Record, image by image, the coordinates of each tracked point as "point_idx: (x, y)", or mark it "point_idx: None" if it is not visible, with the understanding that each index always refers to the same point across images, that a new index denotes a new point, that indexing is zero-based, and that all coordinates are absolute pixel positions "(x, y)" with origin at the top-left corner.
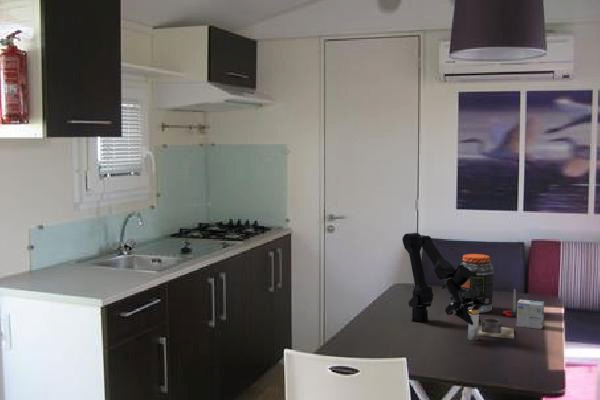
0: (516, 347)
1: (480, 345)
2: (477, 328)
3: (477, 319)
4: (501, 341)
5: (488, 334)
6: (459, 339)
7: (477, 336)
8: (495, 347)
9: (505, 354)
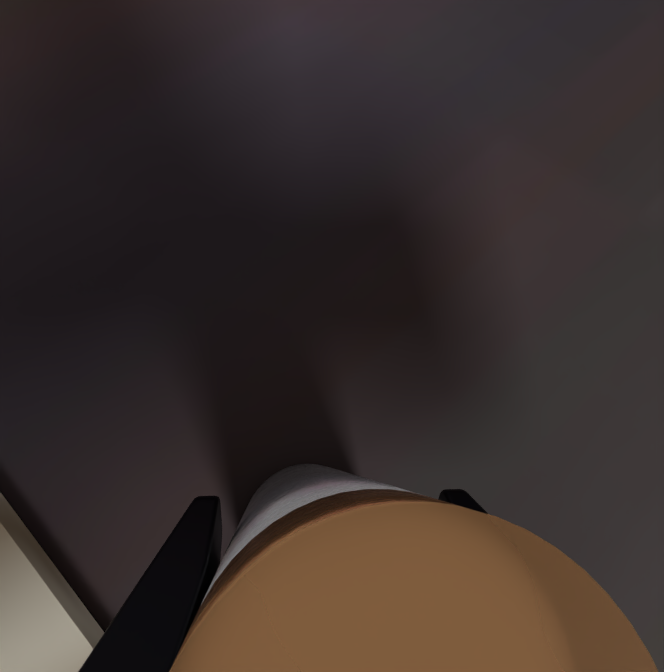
0: (151, 54)
1: (424, 297)
2: (315, 468)
3: (347, 479)
4: (90, 266)
5: (4, 519)
6: None
7: (297, 466)
8: (338, 169)
9: (422, 4)
